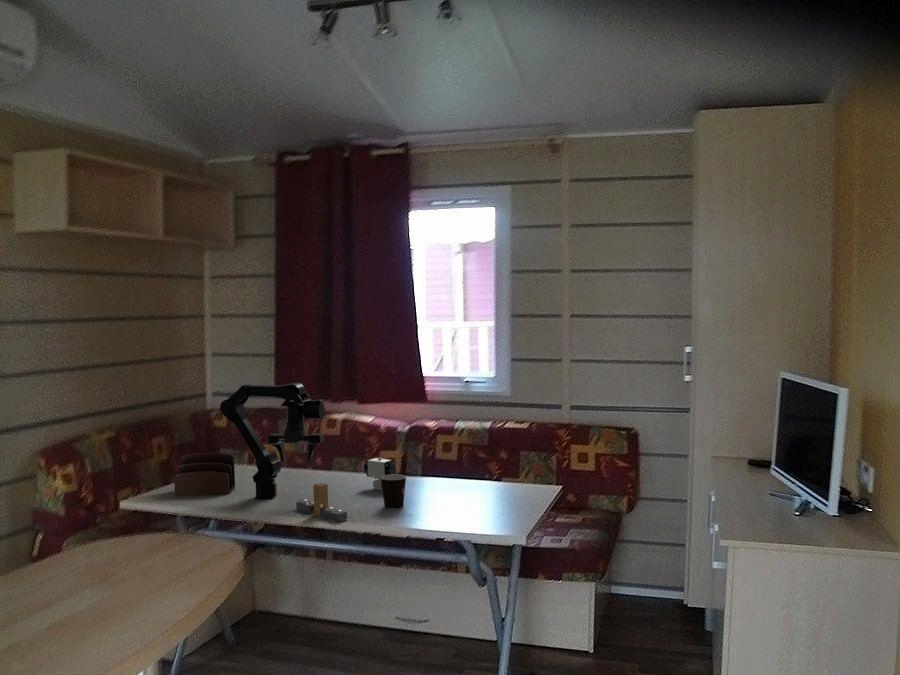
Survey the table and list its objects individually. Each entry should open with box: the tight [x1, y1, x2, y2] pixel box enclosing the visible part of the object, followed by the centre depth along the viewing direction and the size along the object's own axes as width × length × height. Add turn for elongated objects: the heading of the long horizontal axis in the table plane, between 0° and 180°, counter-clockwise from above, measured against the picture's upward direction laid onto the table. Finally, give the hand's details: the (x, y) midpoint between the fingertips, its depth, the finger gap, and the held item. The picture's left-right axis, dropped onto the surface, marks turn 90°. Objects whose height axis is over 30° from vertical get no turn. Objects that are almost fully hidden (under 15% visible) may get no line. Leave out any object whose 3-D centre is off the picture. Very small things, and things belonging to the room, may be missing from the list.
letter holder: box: [173, 452, 236, 497], centre depth 292 cm, size 10×20×14 cm, turn 93°
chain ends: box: [295, 498, 348, 523], centre depth 259 cm, size 23×4×3 cm, turn 44°
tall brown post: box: [312, 482, 329, 517], centre depth 258 cm, size 4×3×10 cm
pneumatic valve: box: [363, 456, 397, 491], centre depth 293 cm, size 6×12×12 cm, turn 59°
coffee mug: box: [381, 473, 407, 509], centre depth 266 cm, size 12×9×10 cm
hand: (296, 462), depth 280 cm, fingers open, 9 cm apart
